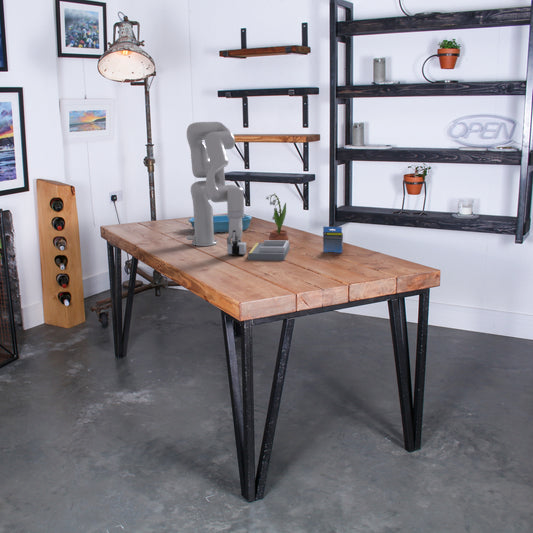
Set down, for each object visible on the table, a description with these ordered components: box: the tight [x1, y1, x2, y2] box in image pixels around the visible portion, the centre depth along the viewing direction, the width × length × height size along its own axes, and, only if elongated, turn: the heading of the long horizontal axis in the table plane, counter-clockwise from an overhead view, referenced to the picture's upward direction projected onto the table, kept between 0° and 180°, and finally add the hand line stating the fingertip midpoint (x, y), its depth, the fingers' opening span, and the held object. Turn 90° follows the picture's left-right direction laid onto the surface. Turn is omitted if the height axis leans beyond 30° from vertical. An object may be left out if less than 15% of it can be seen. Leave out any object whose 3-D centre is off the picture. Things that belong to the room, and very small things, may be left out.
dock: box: [247, 239, 290, 261], centre depth 296 cm, size 16×24×5 cm, turn 172°
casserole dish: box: [187, 214, 253, 234], centre depth 361 cm, size 37×22×7 cm, turn 113°
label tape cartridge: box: [322, 226, 344, 254], centre depth 298 cm, size 9×4×12 cm, turn 74°
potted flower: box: [265, 193, 289, 241], centre depth 321 cm, size 12×10×25 cm
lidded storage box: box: [226, 235, 247, 257], centre depth 296 cm, size 8×5×8 cm, turn 82°
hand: (236, 252), depth 297 cm, fingers open, 5 cm apart
